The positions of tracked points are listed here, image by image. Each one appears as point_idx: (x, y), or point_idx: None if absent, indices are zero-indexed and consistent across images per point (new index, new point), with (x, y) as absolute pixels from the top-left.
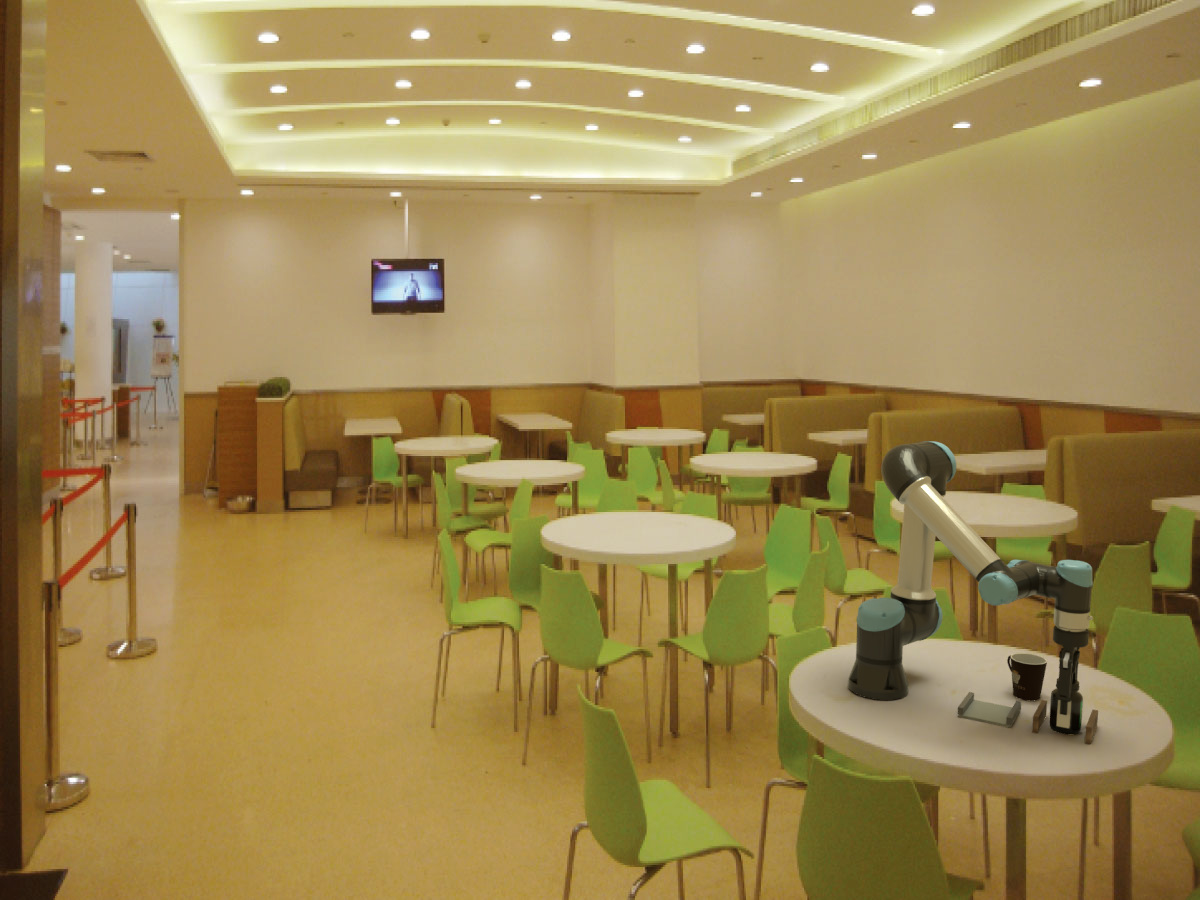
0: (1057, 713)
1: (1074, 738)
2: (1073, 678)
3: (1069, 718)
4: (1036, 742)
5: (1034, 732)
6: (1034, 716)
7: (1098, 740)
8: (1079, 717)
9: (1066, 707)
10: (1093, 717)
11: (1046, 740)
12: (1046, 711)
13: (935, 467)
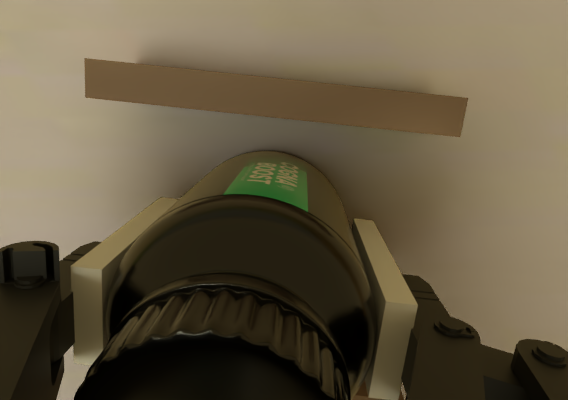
0: None
1: (374, 177)
2: (25, 381)
3: (383, 244)
4: (503, 340)
5: None
6: None
7: (347, 55)
8: (311, 181)
9: (443, 310)
10: (251, 89)
11: (459, 301)
12: None
13: None
